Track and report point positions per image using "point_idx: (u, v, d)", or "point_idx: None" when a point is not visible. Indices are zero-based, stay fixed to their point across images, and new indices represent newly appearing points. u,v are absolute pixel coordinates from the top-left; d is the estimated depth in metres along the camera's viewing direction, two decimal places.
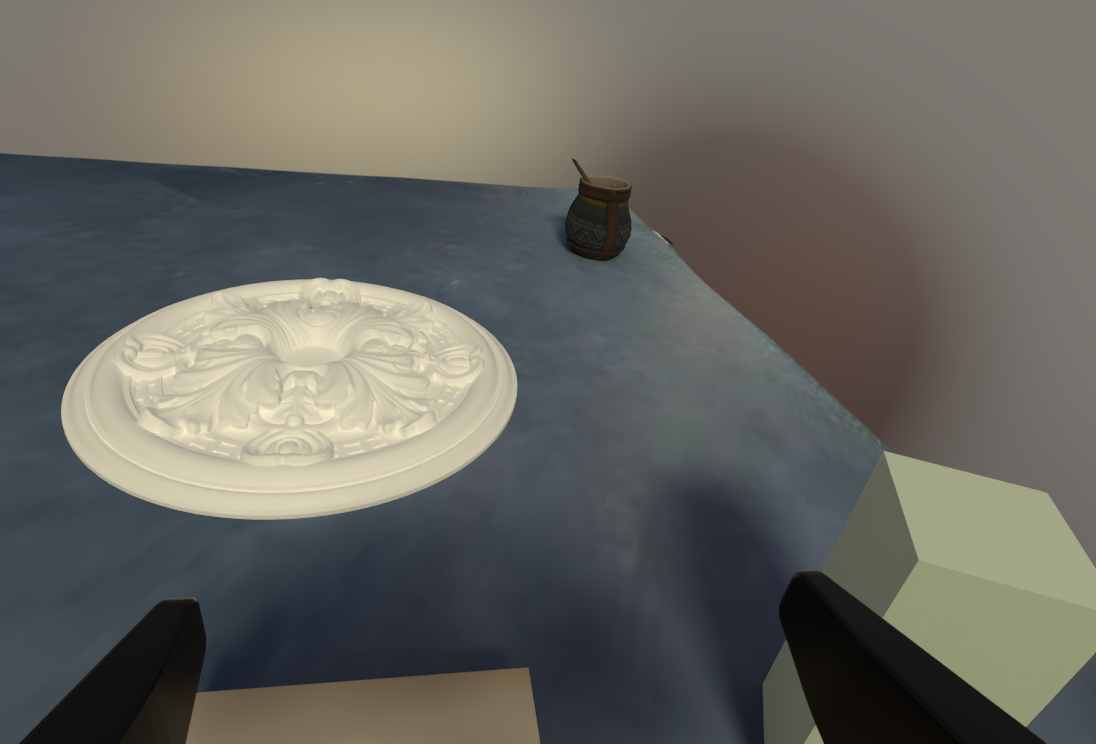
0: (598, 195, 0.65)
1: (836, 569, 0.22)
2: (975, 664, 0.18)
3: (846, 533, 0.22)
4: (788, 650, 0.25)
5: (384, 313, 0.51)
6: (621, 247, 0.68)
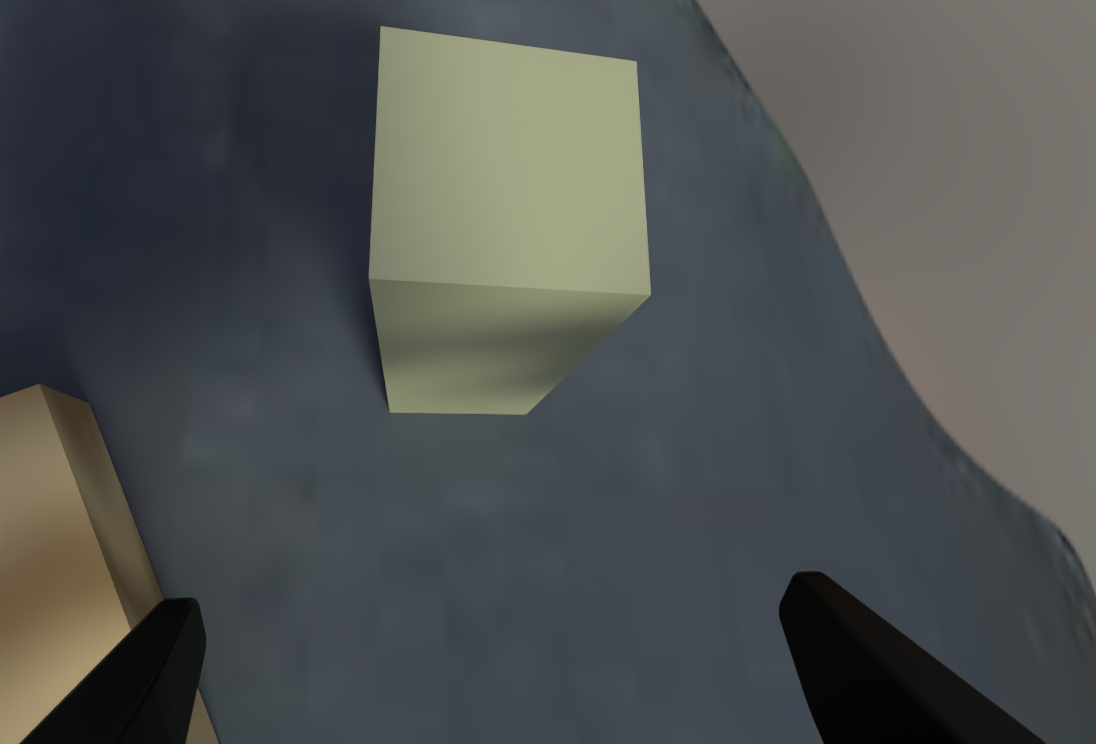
0: None
1: None
2: (507, 337, 0.14)
3: None
4: None
5: None
6: None
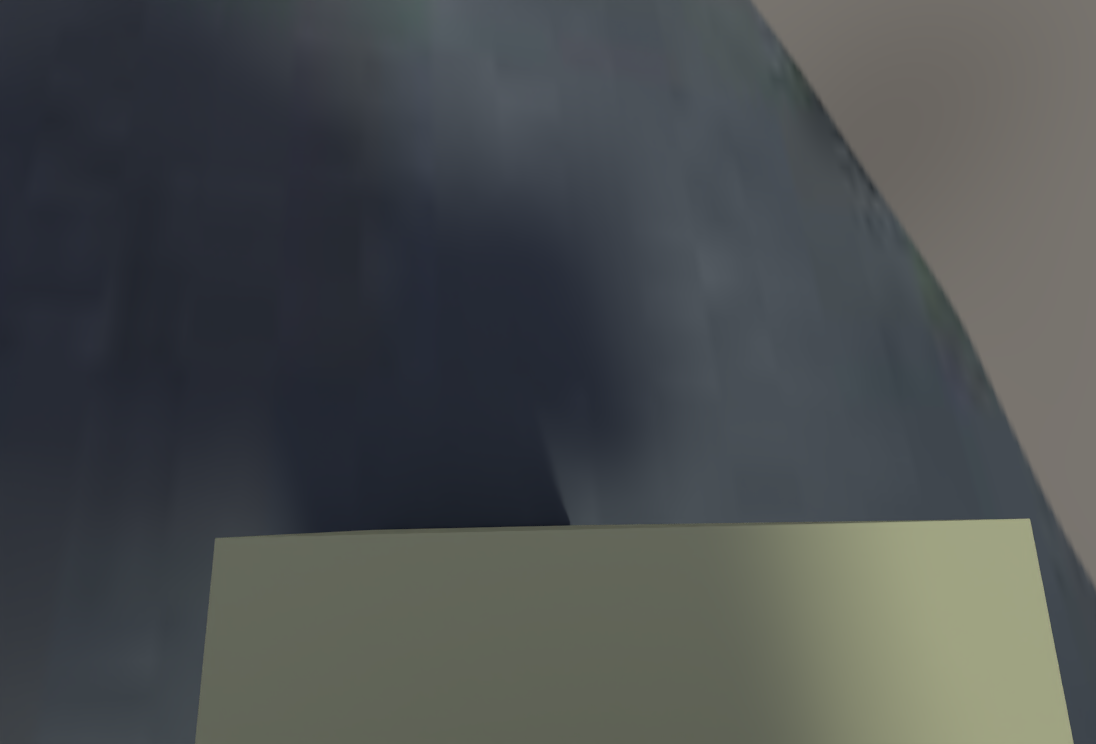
0: None
1: None
2: None
3: None
4: None
5: None
6: None
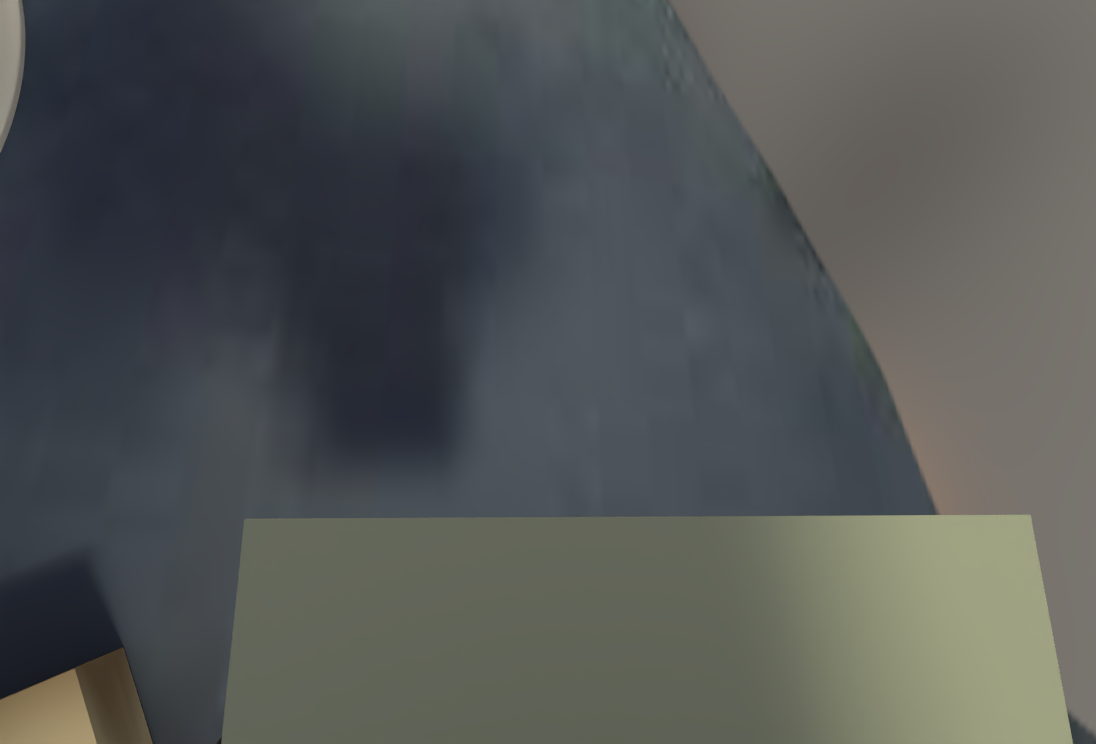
0: None
1: None
2: None
3: None
4: None
5: None
6: None
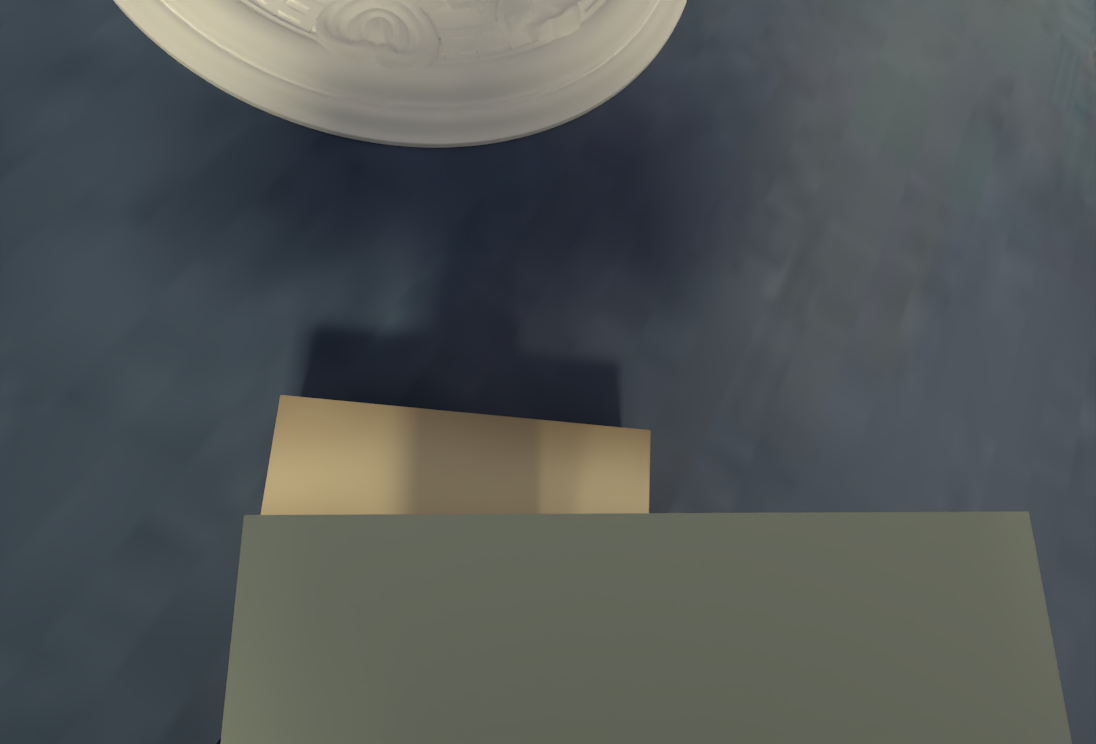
0: None
1: None
2: None
3: None
4: None
5: None
6: None
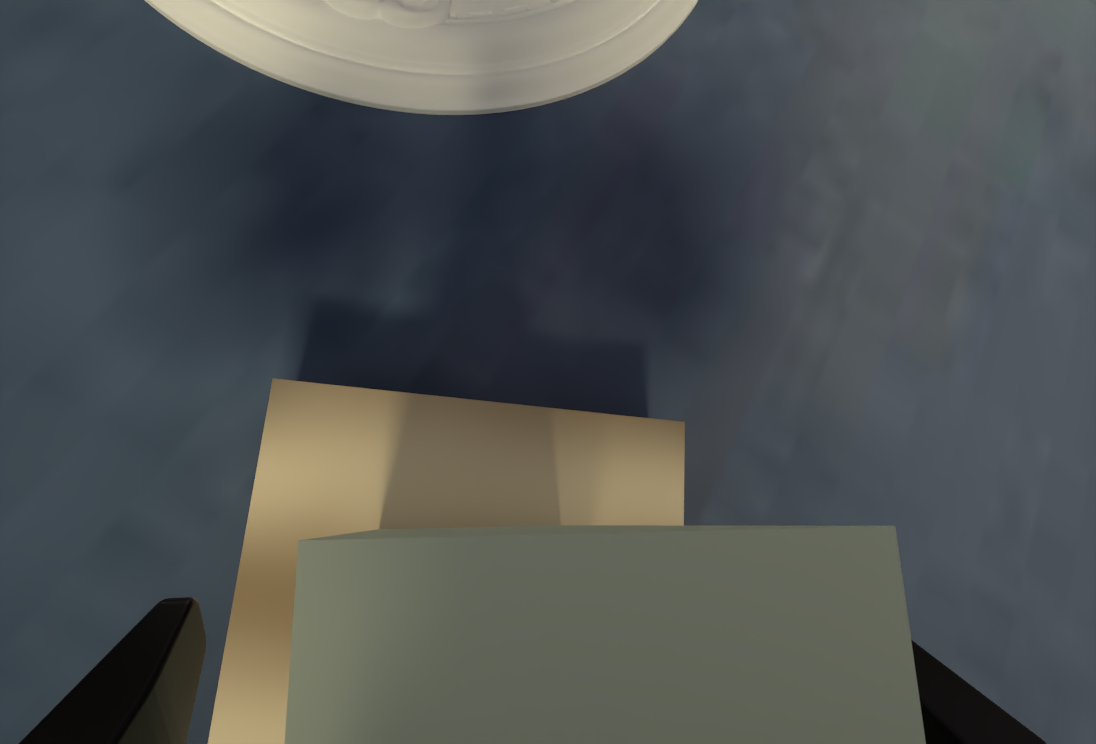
0: None
1: None
2: None
3: None
4: None
5: None
6: None
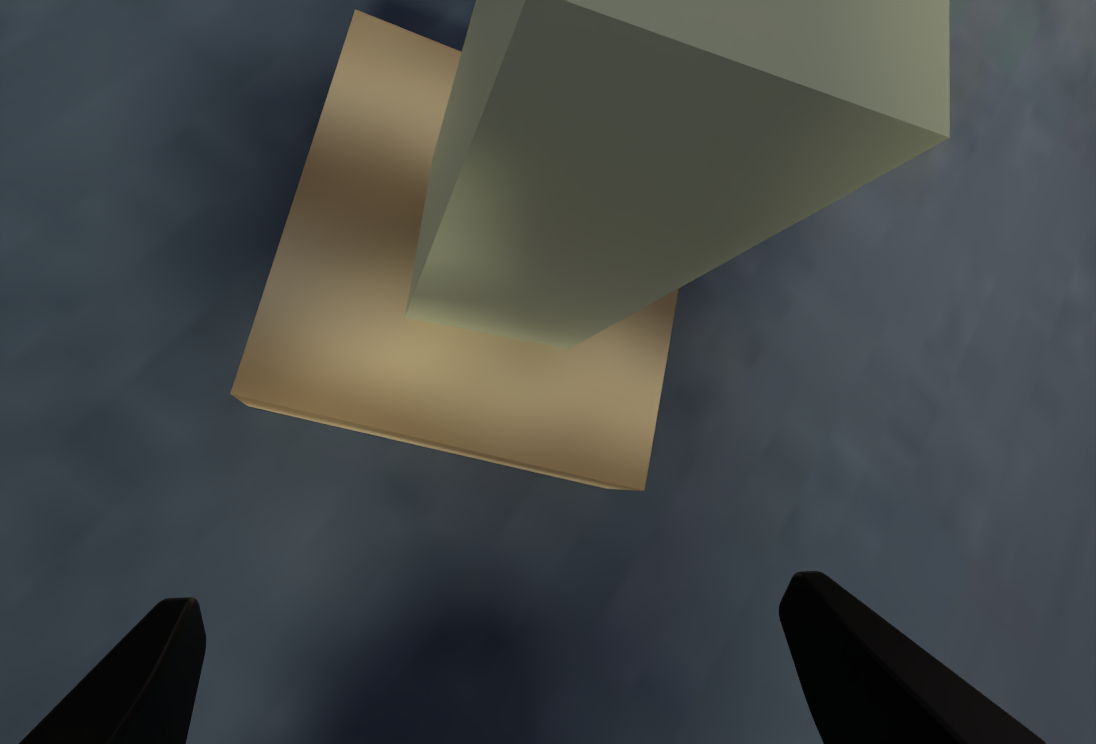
0: None
1: None
2: (653, 198, 0.09)
3: None
4: (445, 120, 0.16)
5: None
6: None
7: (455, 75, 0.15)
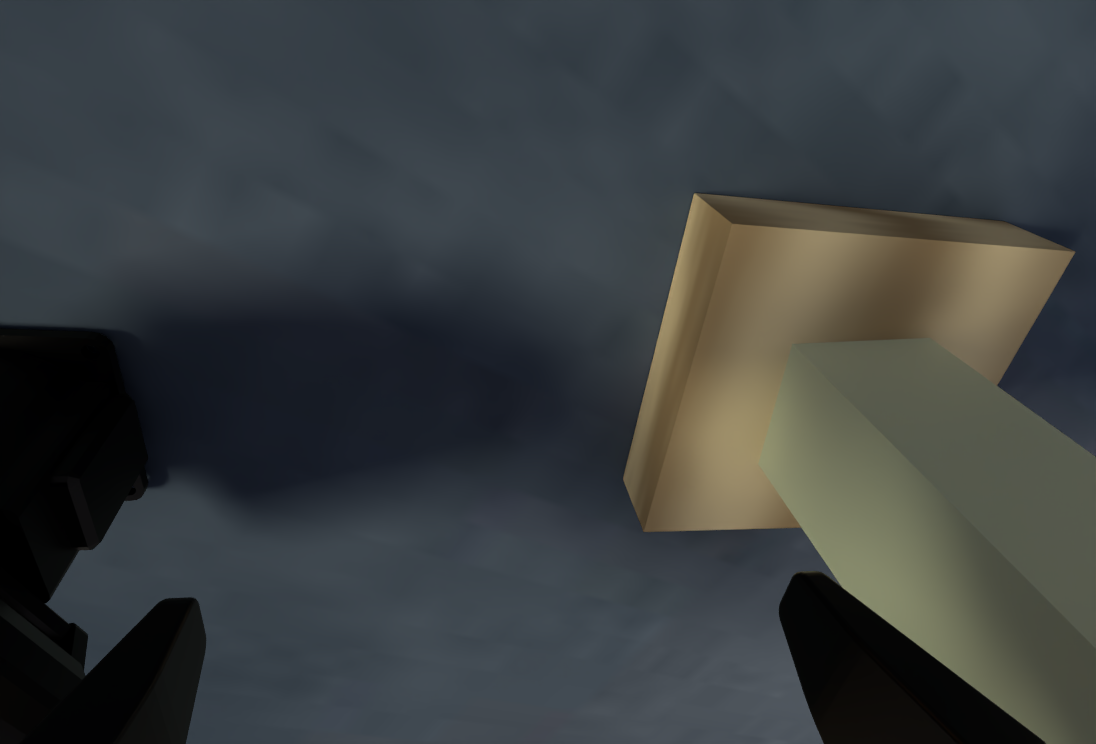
0: None
1: None
2: (985, 685, 0.14)
3: None
4: (985, 393, 0.18)
5: None
6: None
7: (1030, 411, 0.18)
